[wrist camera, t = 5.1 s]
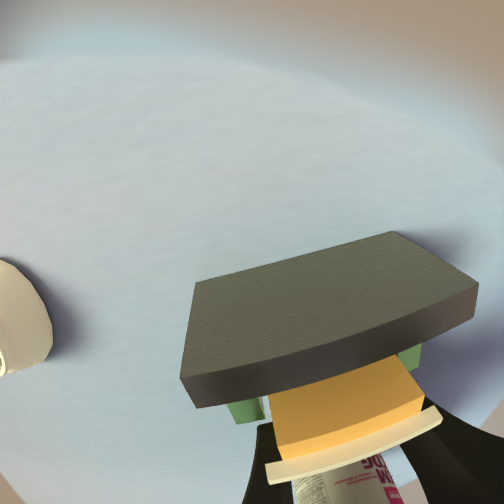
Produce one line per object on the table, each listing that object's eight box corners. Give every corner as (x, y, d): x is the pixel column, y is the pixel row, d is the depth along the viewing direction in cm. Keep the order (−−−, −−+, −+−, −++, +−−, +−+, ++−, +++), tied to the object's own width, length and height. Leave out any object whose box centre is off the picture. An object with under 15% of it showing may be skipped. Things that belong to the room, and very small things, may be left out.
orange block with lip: (381, 356, 11) (435, 437, 6) (258, 394, 11) (275, 494, 6) (382, 318, 10) (449, 400, 6) (246, 358, 10) (261, 469, 6)
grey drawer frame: (390, 384, 12) (431, 450, 8) (252, 427, 12) (262, 507, 8) (392, 230, 10) (479, 282, 5) (195, 282, 10) (178, 377, 5)
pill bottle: (383, 416, 13) (443, 534, 5) (341, 461, 15) (378, 566, 7) (310, 414, 12) (358, 569, 4) (273, 462, 14) (297, 586, 6)
